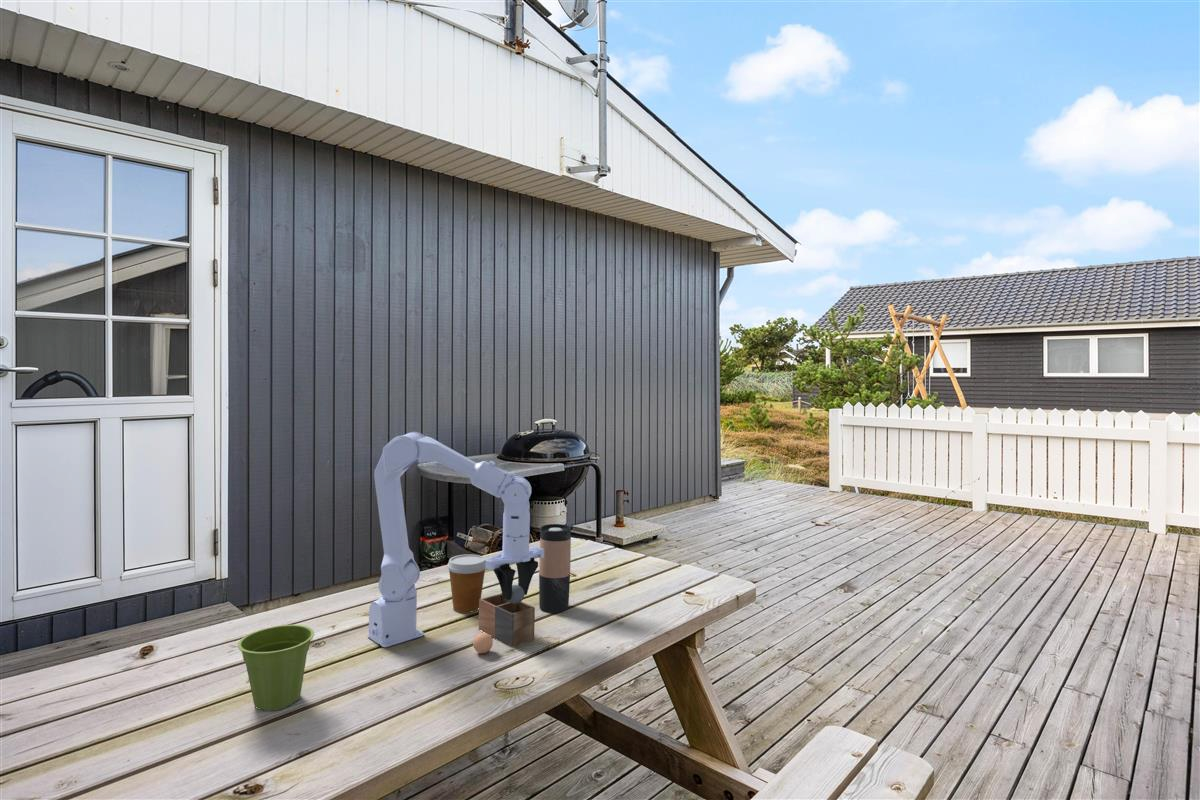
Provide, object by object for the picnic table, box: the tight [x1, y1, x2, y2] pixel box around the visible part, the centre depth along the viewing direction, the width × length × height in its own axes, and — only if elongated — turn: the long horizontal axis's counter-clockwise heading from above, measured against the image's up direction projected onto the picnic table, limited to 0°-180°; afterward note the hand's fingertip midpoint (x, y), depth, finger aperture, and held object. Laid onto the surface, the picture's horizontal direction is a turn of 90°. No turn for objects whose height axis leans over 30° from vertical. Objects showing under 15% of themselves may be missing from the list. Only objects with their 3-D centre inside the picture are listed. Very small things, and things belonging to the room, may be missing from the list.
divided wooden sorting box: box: [478, 592, 536, 648], centre depth 143 cm, size 6×12×7 cm, turn 46°
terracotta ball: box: [472, 632, 494, 654], centre depth 133 cm, size 4×4×4 cm
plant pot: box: [237, 624, 315, 711], centre depth 112 cm, size 12×12×11 cm
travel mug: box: [538, 523, 572, 614], centre depth 159 cm, size 8×8×20 cm
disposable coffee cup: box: [446, 554, 486, 613], centre depth 158 cm, size 10×10×12 cm
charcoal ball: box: [508, 584, 525, 604], centre depth 140 cm, size 4×4×4 cm
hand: (514, 596), depth 140 cm, fingers closed on charcoal ball, 4 cm apart
